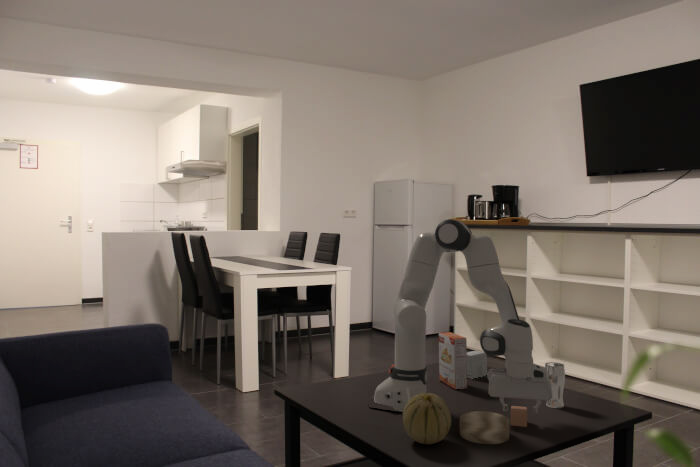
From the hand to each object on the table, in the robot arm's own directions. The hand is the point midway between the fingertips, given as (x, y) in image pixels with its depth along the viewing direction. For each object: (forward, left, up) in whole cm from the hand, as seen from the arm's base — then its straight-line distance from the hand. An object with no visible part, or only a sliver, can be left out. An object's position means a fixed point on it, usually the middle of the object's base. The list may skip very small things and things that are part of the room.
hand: (520, 411), depth 184 cm
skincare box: (-21, +56, -4) cm, 60 cm away
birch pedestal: (-11, -15, -4) cm, 18 cm away
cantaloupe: (-27, -26, -4) cm, 37 cm away
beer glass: (+11, +22, -4) cm, 26 cm away
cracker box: (-28, +39, -4) cm, 48 cm away
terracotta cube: (-1, -1, -4) cm, 4 cm away
